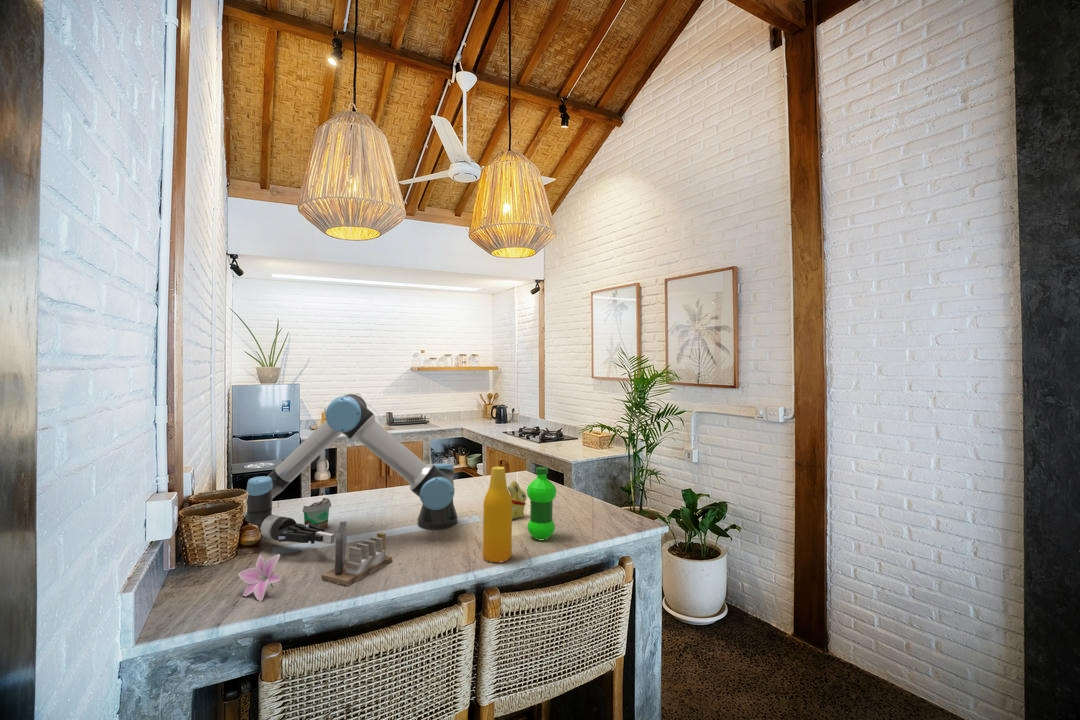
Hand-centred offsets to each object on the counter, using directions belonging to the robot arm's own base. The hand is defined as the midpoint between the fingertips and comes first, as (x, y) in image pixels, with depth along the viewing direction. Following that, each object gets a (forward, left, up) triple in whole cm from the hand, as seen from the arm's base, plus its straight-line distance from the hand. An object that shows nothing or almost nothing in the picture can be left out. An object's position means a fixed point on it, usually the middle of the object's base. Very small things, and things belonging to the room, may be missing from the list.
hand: (332, 539), depth 158 cm
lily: (+18, +17, -7) cm, 25 cm away
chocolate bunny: (-67, -22, -7) cm, 71 cm away
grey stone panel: (-3, +6, -5) cm, 8 cm away
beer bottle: (-49, +15, -7) cm, 52 cm away
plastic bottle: (-69, +3, -7) cm, 70 cm away
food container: (+5, -33, -7) cm, 34 cm away
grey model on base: (-7, +10, -7) cm, 14 cm away
